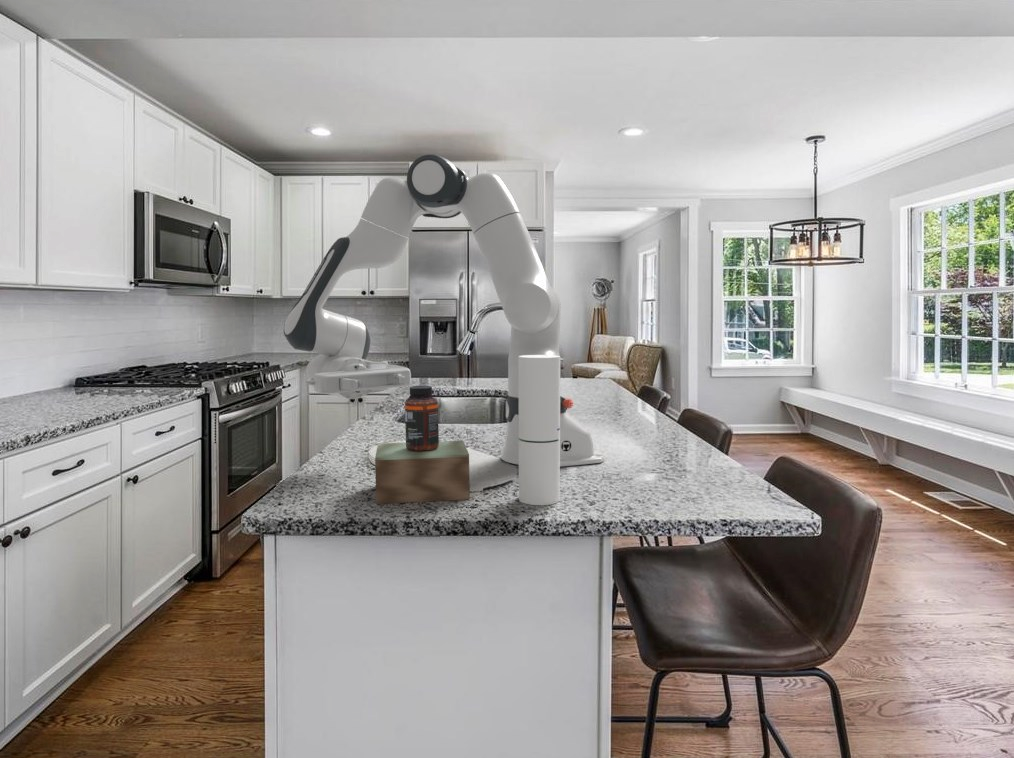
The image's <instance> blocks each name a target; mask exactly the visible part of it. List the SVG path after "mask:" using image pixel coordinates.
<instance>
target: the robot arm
mask: <svg viewBox="0 0 1014 758" xmlns="http://www.w3.org/2000/svg"><path fill="white" fill-rule="evenodd" d="M460 214H462V215H463V216H464V217H465V219H466V220H467V222H468V224H469V226H470V229H471V231H472V234H473V236H474V239H475V241H476V243H477V245H478V248H479V250H480V252H481V255H482V257H483V259H484V262H485V263H486V266H487V269H488V270H489V274H490V277H491V280H492V283H493V286H494V289H495V291H496V294H497V298H498V300H499V302H500V305H501V308H502V310H503V312H504V315H505V318H506V320H507V322H508V323H509V324H510V338H509V340H510V342H509V349H508V350H509V351H508V359H507V360H508V361H507V368H508V370H507V372H508V373H507V382H508V383H507V384H508V385H507V387H508V388H507V389H508V392H507V395H506V401H505V418H506V421H507V425H506V435H505V440H504V446H503V451H502V454H501V457H500V459H501V460H503V462H506V463H510V464H514V465H519V356H523V355H556V356H560V341H561V337H560V336H561V302H560V297H559V295H558V294H557V292H556V291H555V289H553V288H552V286H551V284H550V281H549V279H548V276H547V274H546V272H545V270H544V267H543V264H542V261H541V260H540V256H539V254H538V251H537V248H536V246H535V243H534V241H533V239H532V237H531V235H530V232H529V230H528V228H527V225H526V223H525V221H524V218H523V217H522V214H521V211H520V210H519V208H518V205H517V203H516V201H515V200H514V198H513V195H512V194H511V192H510V191H509V189H508V188H507V185H505V183H504V181H502V179H501V178H500V176H498V175H497V174H495V173H491V172H483V173H479V174H475V175H474V176H469V177H467V174H466V172H465V171H464V170H463V169H461V168H460V167H458V166H457V165H456V164H454V163H453V162H451V161H450V160H449V159H447V158H446V157H444V156H441V155H438V154H431V153H430V154H424V155H420V156H419V157H417V158H416V159H415V160H414V161H413V162H412V163H410V166H409V168H408V171H407V175H406V180H404V179H402V178H399V177H394V176H393V177H392V176H389V177H384V178H382V179H381V180H380V181H379V182H378V183H377V185H376V187H375V188H374V190H373V191H372V193H371V195H370V196H369V198H368V200H367V202H366V205H365V207H364V209H363V211H362V214H361V216H360V219H359V222H358V223H357V225H356V226H355V228H354V229H353V230H352V231H351V232H350V233H349V234H347V236H342V237H339V238H337V239H336V241H334V242H333V244H332V246H331V247H330V248H329V249H328V250H327V253H326V254H325V255H324V257H323V258H322V260H321V262H320V263H319V265H318V267H317V268H316V271H315V272H314V274H313V275H312V278H311V279H310V281H309V282H308V285H307V286H306V287H305V289H304V291H303V293H302V294H301V296H300V298H299V299H298V301H297V302H296V303H295V305H294V306H293V307H292V308H291V309H290V312H289V313H288V315H287V317H286V319H285V320H284V323H283V335H284V337H285V338H286V341H287V342H288V343H289V344H290V346H291V348H293V349H294V350H298V351H305V352H313V353H316V354H318V355H317V356H316V357H314V358H313V359H311V360H310V361H309V362H308V363H307V365H306V368H305V377H306V381H305V383H306V385H308V386H309V385H310V386H311V387H312V388H313V390H314V392H316V393H318V394H323V395H330V396H335V397H339V398H344V399H349V400H356V399H359V398H362V397H363V396H366V395H369V394H372V393H377V392H382V391H388V390H389V389H390V388H399V387H400V388H403V387H409V386H411V383H412V373H411V369H410V368H409V367H406V366H401V365H396V364H391V363H390V364H389V362H388V361H387V360H371V359H370V360H369V359H368V360H367V357H368V355H369V353H370V347H371V336H370V333H369V330H368V329H369V328H368V327H367V325H366V324H365V323H364V321H362V320H360V319H357V318H353V317H350V316H347V315H344V314H340V313H336V312H333V311H331V310H327V309H324V308H323V307H324V305H325V304H326V302H327V300H328V299H329V297H330V295H331V294H332V291H333V290H334V288H335V286H336V285H337V283H338V281H339V280H340V278H341V277H342V276H343V275H345V274H346V273H349V272H351V271H355V270H362V269H363V270H364V269H380V268H385V267H387V266H388V267H389V266H390V265H392V264H394V263H396V262H397V261H398V260H399V259H400V258H401V256H402V254H403V253H404V250H405V248H406V246H407V243H408V240H409V237H410V235H411V232H412V229H413V227H414V226H415V225H414V224H415V223H416V221H417V220H418V219H419V218H420V217H421V216H422V217H425V218H437V219H451V218H455V217H457V216H459V215H460ZM573 407H574V401H573V400H572V399H570V398H569V397H567V398H566V397H564V396H561V395H560V468H561V467H569V466H579V465H589V464H590V465H591V464H601V463H603V462H604V454H603V453H602V452H601V451H600V450H598V449H597V448H594V447H595V446H594V443H593V442H594V441H593V437H592V434H591V432H590V430H589V428H587V427H586V426H585V425H584V424H583V423H581V422H580V421H579V420H578V419H576V418H575V417H574V416H572V415H571V414H570V413H569V412H567V410H568V409H572V408H573Z"/></svg>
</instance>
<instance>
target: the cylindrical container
mask: <svg viewBox="0 0 1014 758" xmlns="http://www.w3.org/2000/svg"><path fill="white" fill-rule="evenodd" d="M560 396H561V355H559V356H556V355H523V356H519V464H518V500H519V502H520V503H523V504H526V505H531V506H548V505H554V504H557V503H558V502H560V500H561V499H560V497H561V496H560V495H561V490H560V488H561V487H560V486H561V485H560V483H561V482H560V481H561V473H560V472H561V470H560V469H561V467H560Z"/></svg>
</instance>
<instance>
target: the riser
mask: <svg viewBox="0 0 1014 758" xmlns="http://www.w3.org/2000/svg"><path fill="white" fill-rule="evenodd" d="M374 456H375V457H374V462H375V463H374V464H375V465H374V467H375V469H374V470H375V471H374V472H375V500H376V501H375V502H376V505H379V504H398V503H399V504H400V503H401V504H402V503H403V504H405V503H420V502H421V503H422V502H423V503H424V502H439V501H440V502H441V501H443V502H444V501H460V500H461V501H462V500H470V489H471V488H470V487H471V486H470V453H469V451H468V449H467V447H466V444H465V442H464V440H444V441H443V440H441V441H440V440H439V446H438V447H437V448H436V449H434V450H430V451H412V450H408V449H407V448H406V442H387V443H386V442H384V443H382V442H381V443H377V447H376V451H375V455H374Z"/></svg>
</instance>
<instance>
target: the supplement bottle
mask: <svg viewBox="0 0 1014 758" xmlns="http://www.w3.org/2000/svg"><path fill="white" fill-rule="evenodd" d="M438 406H439V404H438V400H437V398H436V397H433V387H432V386H431V385H413V386H410V387H409V397H408V398H407V399H406V400H405V401H404V423H405V424H404V425H405V426H404V427H405V443H406V448H407V449H408V450H412V451H430V450H434V449H436V448H437V447H438V446H439V441H440V439H439V438H440V437H439V407H438Z"/></svg>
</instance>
